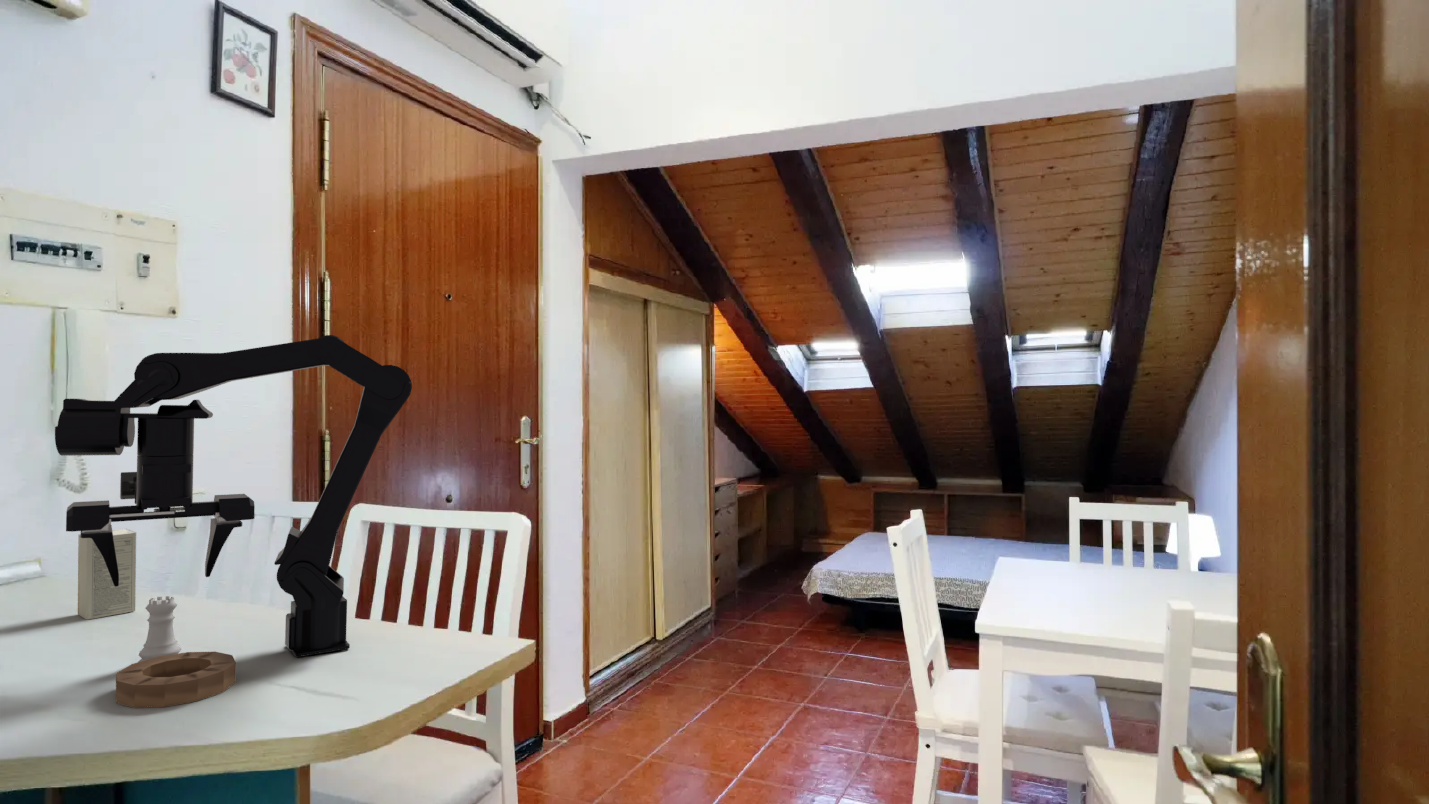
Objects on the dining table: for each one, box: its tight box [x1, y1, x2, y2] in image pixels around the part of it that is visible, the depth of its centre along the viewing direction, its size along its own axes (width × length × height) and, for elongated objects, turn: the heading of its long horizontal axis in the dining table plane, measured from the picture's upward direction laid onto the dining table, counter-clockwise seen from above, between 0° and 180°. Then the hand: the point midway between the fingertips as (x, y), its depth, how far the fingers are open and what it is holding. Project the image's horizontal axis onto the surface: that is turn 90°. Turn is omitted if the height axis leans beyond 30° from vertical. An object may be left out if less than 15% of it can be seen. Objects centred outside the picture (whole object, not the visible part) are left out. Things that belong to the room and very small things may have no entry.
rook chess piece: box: [137, 595, 182, 662], centre depth 97 cm, size 4×4×8 cm
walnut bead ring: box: [115, 651, 237, 709], centre depth 89 cm, size 11×11×2 cm
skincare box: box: [77, 528, 137, 620], centre depth 117 cm, size 6×4×12 cm
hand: (163, 581), depth 97 cm, fingers open, 9 cm apart
